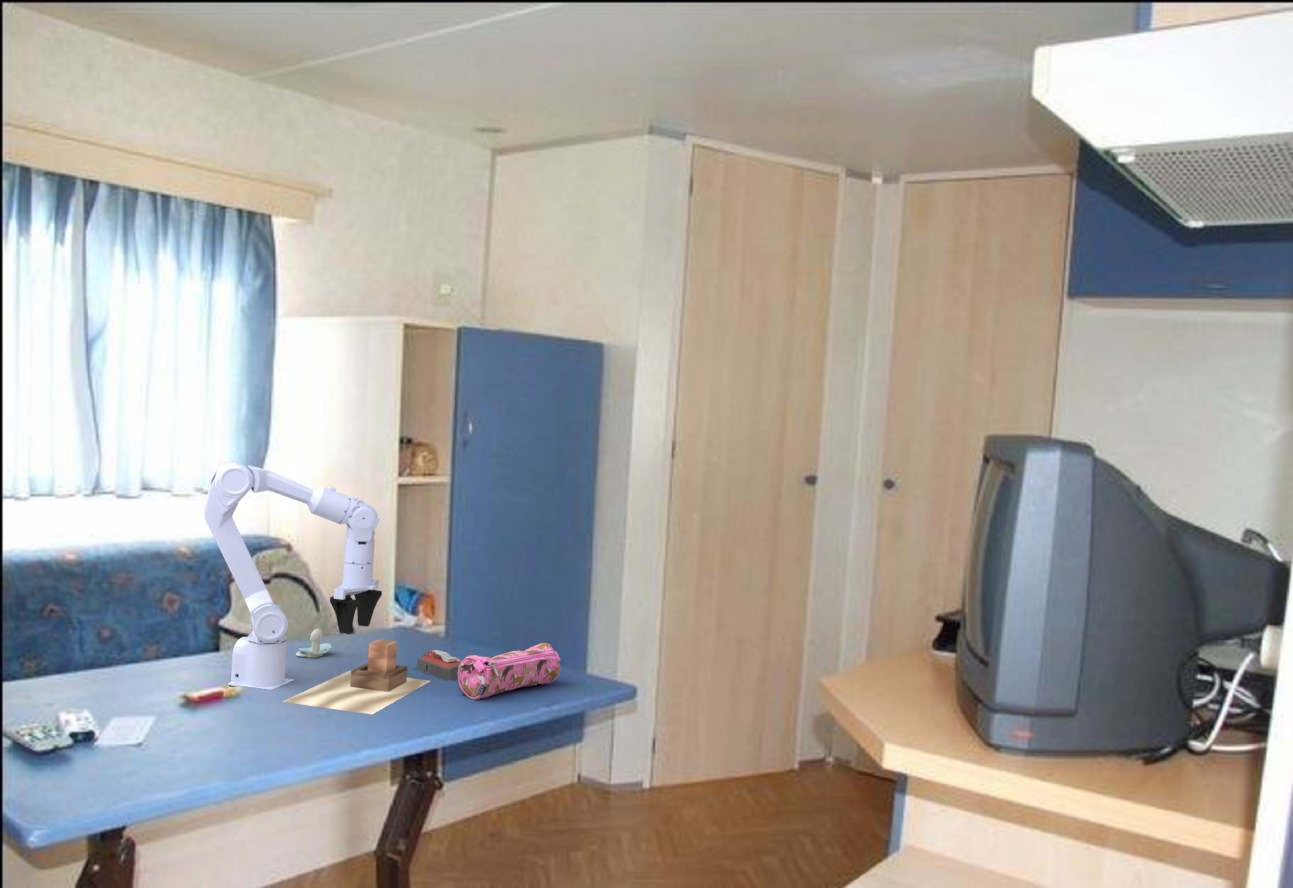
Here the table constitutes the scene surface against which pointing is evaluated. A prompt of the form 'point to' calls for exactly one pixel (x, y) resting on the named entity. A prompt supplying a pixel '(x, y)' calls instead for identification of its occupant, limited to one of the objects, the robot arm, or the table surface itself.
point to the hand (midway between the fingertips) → (354, 629)
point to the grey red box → (439, 664)
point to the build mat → (360, 690)
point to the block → (382, 656)
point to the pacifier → (315, 646)
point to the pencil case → (508, 671)
